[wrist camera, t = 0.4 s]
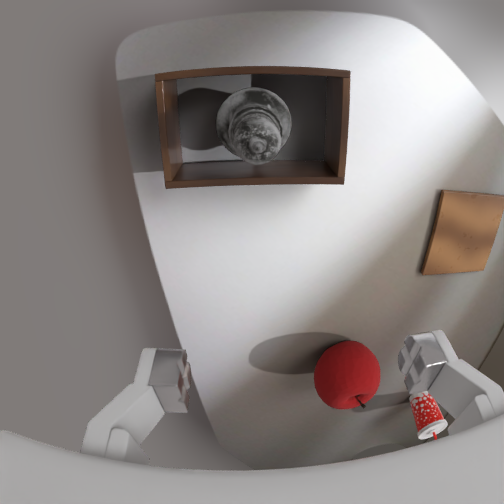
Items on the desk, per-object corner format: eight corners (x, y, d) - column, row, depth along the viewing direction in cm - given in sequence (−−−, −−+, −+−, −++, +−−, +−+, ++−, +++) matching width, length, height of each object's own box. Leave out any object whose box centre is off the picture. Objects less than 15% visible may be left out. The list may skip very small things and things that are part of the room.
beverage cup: (401, 397, 52) (421, 458, 40) (429, 381, 50) (453, 442, 38) (410, 406, 54) (428, 462, 42) (435, 391, 52) (457, 447, 40)
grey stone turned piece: (237, 159, 28) (233, 216, 18) (207, 103, 26) (182, 125, 15) (296, 133, 27) (329, 174, 17) (269, 75, 24) (287, 76, 14)
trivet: (441, 189, 30) (444, 191, 29) (504, 195, 30) (507, 197, 30) (420, 272, 36) (422, 275, 35) (481, 268, 36) (483, 270, 35)
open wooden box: (169, 73, 24) (154, 74, 20) (333, 70, 24) (350, 70, 20) (177, 170, 29) (165, 189, 24) (329, 166, 29) (344, 184, 25)
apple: (316, 330, 40) (331, 394, 32) (379, 328, 41) (402, 386, 32) (305, 373, 45) (314, 430, 37) (361, 369, 45) (376, 423, 37)
